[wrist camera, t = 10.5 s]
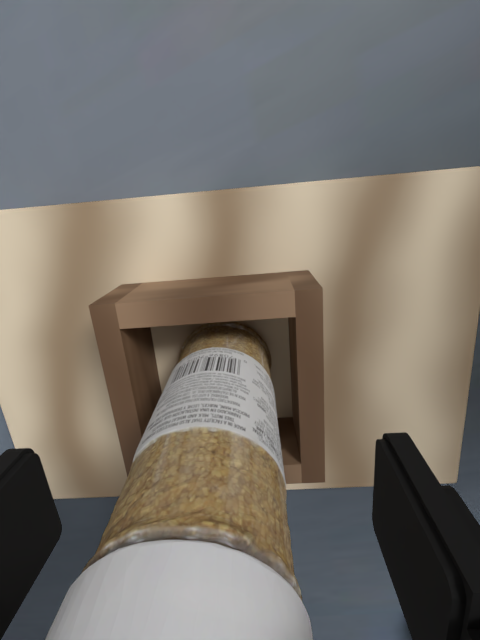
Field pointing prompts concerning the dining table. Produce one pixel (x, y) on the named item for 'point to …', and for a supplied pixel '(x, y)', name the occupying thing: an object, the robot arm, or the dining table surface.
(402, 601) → the robot arm
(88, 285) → the spice stand
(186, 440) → the sprinkles bottle
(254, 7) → the dining table surface
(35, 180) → the dining table surface
